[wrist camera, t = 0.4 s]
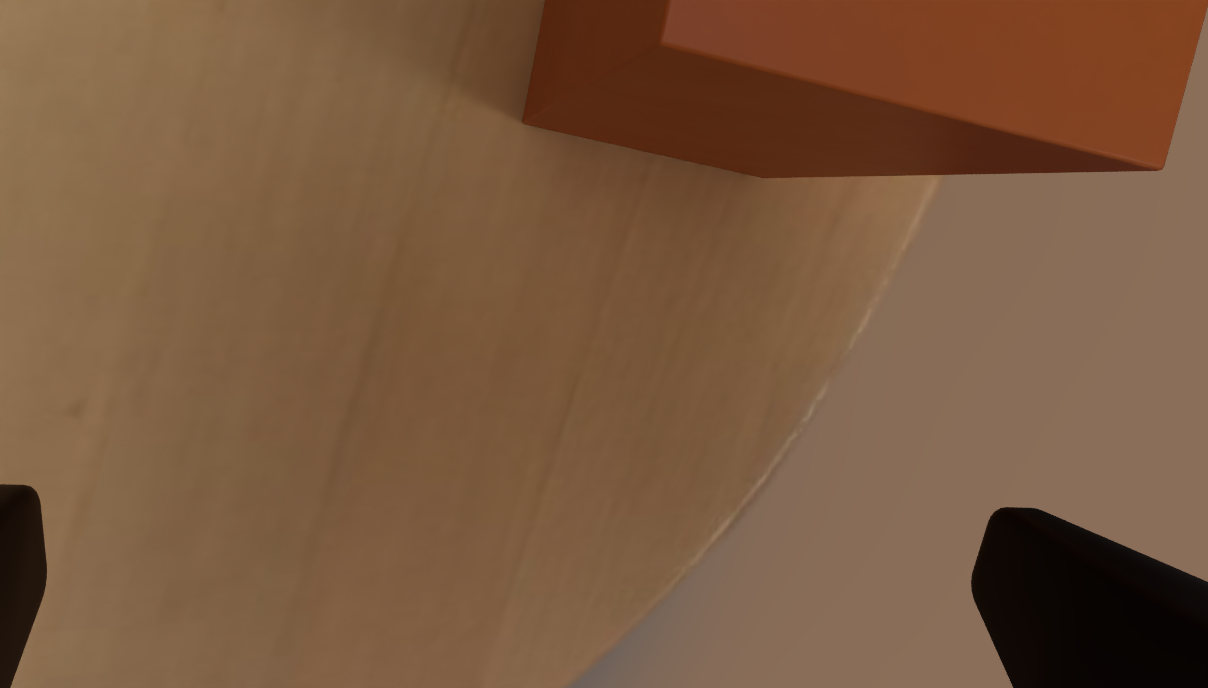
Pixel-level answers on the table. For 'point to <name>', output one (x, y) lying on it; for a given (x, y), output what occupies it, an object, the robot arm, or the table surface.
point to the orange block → (870, 83)
